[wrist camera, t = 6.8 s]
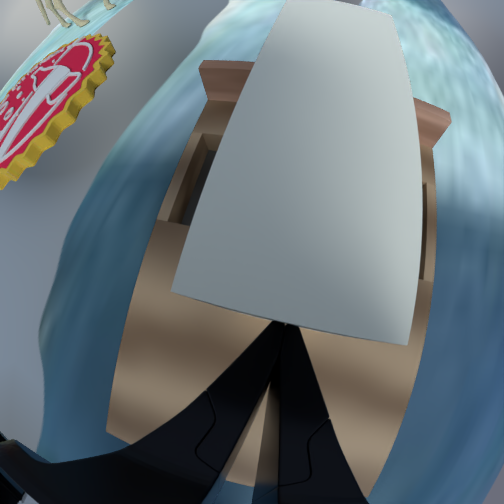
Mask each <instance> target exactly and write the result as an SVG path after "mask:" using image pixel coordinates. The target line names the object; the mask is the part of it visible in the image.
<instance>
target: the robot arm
mask: <svg viewBox="0 0 504 504" xmlns="http://www.w3.org/2000/svg"><path fill="white" fill-rule="evenodd" d="M269 383H270V384H269ZM268 386H269V389H268ZM267 389H268V396H267V403H266V411H265V419H264V426H263V433H262V440H261V447H260V454H259V460H258V467H257V473H256V479H255V485H254V491H253V497H252V503H251V504H369V503H368V502H367V500H366V498H365V497H364V495H363V493H362V491H361V489H360V487H359V485H358V483H357V481H356V479H355V477H354V475H353V472H352V470H351V468H350V466H349V464H348V462H347V460H346V458H345V456H344V453H343V451H342V449H341V447H340V444H339V442H338V439H337V436H336V433H335V431H334V428H333V424H332V421H331V419H329V417H330V416H329V413H328V410H327V407H326V404H325V401H324V398H323V395H322V392H321V389H320V386H319V383H318V380H317V377H316V374H315V371H314V368H313V365H312V362H311V359H310V356H309V353H308V351H307V348H306V345H305V342H304V339H303V336H302V333H301V331H300V328H299V327H298V326H295V325H290V324H286V325H285V323H282V322H277V321H271V322H270V323H269V324H268V325H267V327H266V328H265V329H264V330H263V331H262V332H261V333H260V334H259V335H258V336H257V337H256V338H255V339H254V341H253V342H252V343H251V344H250V345H249V346H248V347H247V348H246V349H245V350H244V351H243V352H242V353H241V354H240V355H239V356H238V357H237V358H236V359H235V360H234V361H233V362H232V363H231V364H230V365H229V366H228V367H227V369H226V370H225V371H224V372H223V373H222V374H221V375H220V376H219V377H218V378H217V379H216V380H215V381H214V382H213V383H211V384H210V385H209V386H208V387H207V388H206V390H204V391H203V392H202V393H201V394H200V395H199V396H198V397H197V398H196V399H195V400H194V401H192V402H191V403H190V404H189V405H188V406H187V407H186V408H184V409H183V410H182V411H181V412H179V413H178V414H177V415H175V416H174V417H173V418H171V419H170V420H169V421H167V422H166V423H164V424H163V425H161V426H160V427H158V428H157V429H155V430H154V431H152V432H150V433H149V434H147V435H146V436H144V437H143V438H141V439H140V440H138V441H136V442H135V443H133V444H131V445H129V446H127V447H125V448H123V449H121V450H118V451H115V452H112V453H108V454H103V455H99V456H94V457H89V458H84V459H79V460H73V461H67V462H60V463H50V462H49V461H47V460H45V459H44V458H42V457H41V456H39V455H38V454H36V453H35V452H33V451H32V450H30V449H29V448H27V447H26V446H24V445H23V444H22V443H20V442H18V441H17V440H14V439H11V440H8V439H7V438H6V437H5V436H4V435H3V434H2V433H1V432H0V504H213V502H214V500H215V499H216V497H217V494H218V493H219V491H220V489H221V487H222V485H223V484H224V482H225V480H226V478H227V476H228V474H229V472H230V470H231V468H232V466H233V464H234V462H235V460H236V458H237V456H238V454H239V452H240V449H241V447H242V445H243V443H244V441H245V439H246V437H247V435H248V432H249V430H250V428H251V426H252V424H253V422H254V419H255V417H256V415H257V413H258V410H259V408H260V406H261V403H262V401H263V399H264V396H265V394H266V392H267Z"/></svg>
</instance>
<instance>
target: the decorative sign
mask: <svg viewBox="0 0 504 504" xmlns="http://www.w3.org/2000/svg"><path fill="white" fill-rule="evenodd" d="M115 53H116V51H115V49H114V47H113V45H112V43H111V41H110V40H109V38H108V36H104V37H102V35H101V34H97V35H95V36H91V34H89V35H87V36H83V37H81V38H77V39H75V40H74V41H72V42H71V43H69V44H64V45H62V46H61V47H60V48H59V49H57V50H56V51H55V52H52V53H50V54H48V55H47V56H46V57H45V58H44V59H43V60H42V61H40V62H39V63H37V64H35V65H34V66H33V67H32V68H31V70H30V71H29V72H28V73H26V74H25V75H24V76H22V77H21V78H20V80H19V81H18V82H17V84H16V85H15V86H14V87H13V88H12V89H11V90H9V92H8V93H7V95H6V96H5V98H4V99H3V101H2V102H1V103H0V190H3V189H4V187H5V186H6V185H7V183H8V182H9V181H10V180H13V181H17V180H18V179H19V177H20V175H21V174H22V173H23V171H24V170H25V169H26V168H28V167H33V166H35V164H36V163H37V161H38V159H39V158H40V156H41V154H42V153H43V152H44V151H45V150H47V149H49V148H51V147H53V146H54V145H55V144H56V142H57V140H58V138H59V136H60V134H61V133H62V131H63V130H64V129H66V128H67V127H69V126H70V125H72V124H73V123H74V122H76V120H77V117H78V115H79V112H80V110H81V109H82V108H83V107H84V106H85V105H87V104H88V103H89V102H91V101H92V100H93V99H94V97H95V90H96V89H97V88H98V87H99V86H100V85H101V84H102V83H103V82H105V81H106V80H107V76H106V72H107V71H108V70H109V69H110V68H111V67H112V66H113V65H114V61H113V59H112V57H113V56H114V54H115Z"/></svg>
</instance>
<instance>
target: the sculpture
mask: <svg viewBox="0 0 504 504" xmlns="http://www.w3.org/2000/svg"><path fill="white" fill-rule="evenodd" d="M103 1H104V6H105V7H106V9H107V10H109V9H111V8H113V7H115V6H116V5H115V4H111V3H110V2H109V0H103ZM36 2H37V5H38V6H39V9H40V11H41V13H42V15H43V17H44V19H45V21H46V23H47V25H50V21H49V19H48V17H47V14H46V11H45V9H44V7H43V4H42V1H41V0H36ZM45 2H46V7H47V8H49V9H50V10H51V11H52V12H53V13H54V14H55V15H56V17H57V18H58V19H59V21H60V23H61V25H62V26H63V27H68V26H69V25H71V23H67V22H66V21H65V20H64V19H63V18H62V17H61V16H60V15H59V14H58V12H57V11H56V9H59V10H60V11H62V12H63V13H64V14H65V15H67V16H68V17H69V18H70V19H71V20H72V21H74V22H75V23H76V25H77V26H80V27H81V26H83V25H85V24H87V23H88V22H89V20H80V19H78V18H77V17H75V16H73V15H72V14H70V13H69V12H68V11H67V10H66V8H65V6H64V5H63V3H62V0H53V2H54V5H53V3H52V0H45Z"/></svg>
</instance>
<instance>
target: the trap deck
mask: <svg viewBox="0 0 504 504" xmlns="http://www.w3.org/2000/svg"><path fill="white" fill-rule="evenodd" d="M254 63H255V62H245V61H223V60H203V62H202V63H201V65H200V66H199V72H200V75H201V78H202V82H203V85H204V88H205V92H206V95H207V98H208V101H207V103H206V105H205V107H204V109H203V111H202V113H201V115H200V117H199V119H198V121H197V123H196V125H195V127H194V130H193V132H192V134H191V136H190V138H189V140H188V143H187V145H186V147H185V149H184V152H183V154H182V156H181V159H180V161H179V163H178V166H177V168H176V170H175V173H174V175H173V178H172V180H171V183H170V185H169V188H168V190H167V193H166V195H165V198H164V201H163V203H162V206H161V209H160V211H159V214H158V217H157V220H156V222H155V225H154V228H153V231H152V234H151V237H150V240H149V243H148V246H147V249H146V252H145V255H144V258H143V261H142V265H141V268H140V271H139V274H138V278H137V281H136V285H135V288H134V292H133V295H132V299H131V303H130V307H129V311H128V314H127V318H126V323H125V327H124V331H123V335H122V340H121V344H120V349H119V353H118V358H117V363H116V368H115V374H114V379H113V385H112V391H111V397H110V404H109V411H108V418H107V426H106V432H108V433H110V434H112V435H114V436H115V437H117V438H119V439H121V440H123V441H125V442H127V443H129V444H133V443H135V442H136V441H138V440H140V439H141V438H143V437H144V436H146V435H147V434H149V433H150V432H152V431H154V430H155V429H157V428H158V427H160V426H161V425H163V424H164V423H166V422H167V421H169V420H170V419H171V418H173V417H174V416H175V415H177V414H178V413H179V412H181V411H182V410H183V409H184V408H186V407H187V406H188V405H189V404H190V403H191V402H192V401H194V400H195V399H196V398H197V397H198V396H199V395H200V394H201V393H202V392H203V391H204V390H206V388H207V387H208V386H209V385H210V384H211V383H213V382H214V381H215V380H216V379H217V378H218V377H219V376H220V375H221V374H222V373H223V372H224V371H225V370H226V369H227V367H228V366H229V365H230V364H231V363H232V362H233V361H234V360H235V359H236V358H237V357H238V356H239V355H240V354H241V353H242V352H243V351H244V350H245V349H246V348H247V347H248V346H249V345H250V344H251V343H252V342H253V341H254V339H255V338H256V337H257V336H258V335H259V334H260V333H261V332H262V331H263V330H264V329H265V328H266V327H267V325H268V324H269V323H270V322H271V321H269V320H265V319H261V318H257V317H253V316H249V315H245V314H241V313H237V312H234V311H231V310H227V309H224V308H221V307H217V306H214V305H211V304H208V303H204V302H201V301H198V300H195V299H192V298H189V297H186V296H183V295H180V294H177V293H174V292H171V288H172V284H173V281H174V277H175V274H176V270H177V267H178V264H179V260H180V257H181V254H182V251H183V248H184V244H185V241H186V238H187V235H188V232H189V229H190V226H191V223H192V220H193V217H194V214H195V211H196V208H197V205H198V202H199V199H200V196H201V193H202V191H203V188H204V185H205V182H206V180H207V177H208V174H209V171H210V169H211V166H212V163H213V161H214V158H215V155H216V153H217V150H218V148H219V145H220V143H221V140H222V137H223V135H224V133H225V130H226V128H227V125H228V123H229V120H230V118H231V115H232V113H233V111H234V108H235V106H236V104H237V101H238V99H239V97H240V94H241V92H242V90H243V88H244V85H245V83H246V81H247V79H248V76H249V74H250V72H251V70H252V68H253V66H254ZM413 100H414V106H415V112H416V119H417V127H418V135H419V144H420V156H421V171H422V241H421V256H420V267H419V277H418V286H417V293H416V301H415V307H414V313H413V319H412V325H411V330H410V335H409V340H408V345H399V344H391V343H384V342H377V341H370V340H364V339H357V338H351V337H345V336H339V335H334V334H328V333H323V332H318V331H313V330H308V329H304V328H300V331H301V333H302V336H303V339H304V342H305V345H306V348H307V351H308V353H309V356H310V359H311V362H312V365H313V368H314V371H315V374H316V377H317V380H318V383H319V386H320V389H321V392H322V395H323V398H324V401H325V404H326V407H327V410H328V413H329V416H330V417H329V419H331V421H332V424H333V428H334V431H335V433H336V436H337V439H338V442H339V444H340V447H341V449H342V451H343V453H344V456H345V458H346V460H347V462H348V464H349V466H350V468H351V470H352V472H353V475H354V477H355V479H356V481H357V483H358V485H359V487H360V489H361V491H362V493H363V495H364V497H368V496H369V494H370V492H371V490H372V488H373V486H374V485H375V483H376V481H377V479H378V477H379V475H380V473H381V470H382V468H383V466H384V464H385V462H386V460H387V458H388V455H389V453H390V451H391V448H392V446H393V443H394V441H395V439H396V436H397V433H398V431H399V428H400V426H401V423H402V420H403V417H404V414H405V411H406V408H407V405H408V402H409V399H410V396H411V393H412V389H413V386H414V382H415V379H416V375H417V371H418V367H419V363H420V359H421V355H422V350H423V345H424V341H425V336H426V330H427V325H428V319H429V312H430V306H431V298H432V290H433V281H434V270H435V256H436V227H437V213H436V185H435V171H434V160H433V151H432V148H433V147H434V145H435V144H436V143H437V141H438V140H439V139H440V137H441V136H442V135H443V133H444V132H445V130H446V129H447V128H448V126H449V125H450V124H451V117H450V113H449V112H447V111H445V110H443V109H441V108H438V107H436V106H434V105H431V104H429V103H426V102H424V101H421V100H419V99H416V98H414V97H413ZM285 325H286V324H285ZM269 384H270V383H269ZM268 389H269V386H268ZM268 389H267V392H266V394H265V396H264V399H263V401H262V403H261V406H260V408H259V410H258V413H257V415H256V417H255V419H254V422H253V424H252V426H251V428H250V430H249V432H248V435H247V437H246V439H245V441H244V443H243V445H242V447H241V449H240V452H239V454H238V456H237V458H236V460H235V462H234V464H233V466H232V468H231V470H230V472H229V474H228V476H227V478H226V480H227V481H231V482H235V483H239V484H243V485H247V486H252V487H254V485H255V479H256V473H257V467H258V460H259V454H260V447H261V440H262V433H263V426H264V419H265V411H266V403H267V396H268Z"/></svg>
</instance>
